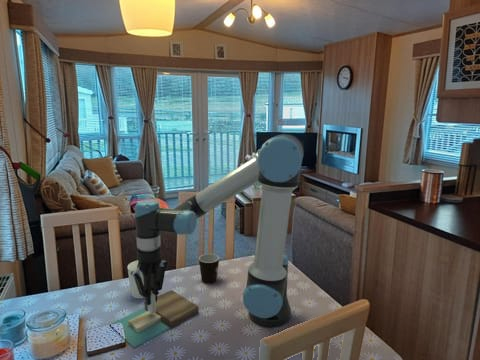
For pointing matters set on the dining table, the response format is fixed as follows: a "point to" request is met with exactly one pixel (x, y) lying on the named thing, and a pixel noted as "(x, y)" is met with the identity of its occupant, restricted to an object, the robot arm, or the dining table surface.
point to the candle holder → (133, 286)
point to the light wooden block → (144, 321)
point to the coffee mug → (209, 267)
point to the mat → (142, 336)
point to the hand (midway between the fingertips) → (151, 311)
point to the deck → (174, 308)
